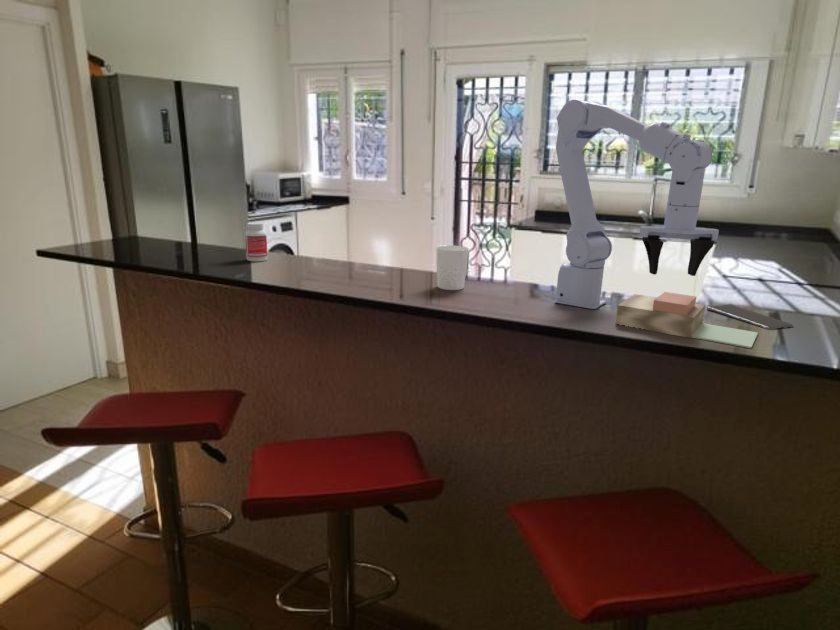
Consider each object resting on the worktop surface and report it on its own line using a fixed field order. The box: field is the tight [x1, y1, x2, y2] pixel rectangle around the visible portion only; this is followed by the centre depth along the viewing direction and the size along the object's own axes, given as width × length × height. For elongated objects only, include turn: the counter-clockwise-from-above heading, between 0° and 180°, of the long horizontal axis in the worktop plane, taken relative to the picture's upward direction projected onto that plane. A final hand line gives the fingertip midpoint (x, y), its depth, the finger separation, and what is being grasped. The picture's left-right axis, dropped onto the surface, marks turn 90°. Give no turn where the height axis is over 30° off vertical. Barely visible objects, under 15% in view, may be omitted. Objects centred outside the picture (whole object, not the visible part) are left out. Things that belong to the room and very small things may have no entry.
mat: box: [691, 322, 759, 349], centre depth 109 cm, size 10×11×1 cm
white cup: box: [435, 245, 469, 291], centre depth 142 cm, size 8×8×10 cm
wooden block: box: [615, 294, 706, 339], centre depth 115 cm, size 14×12×4 cm
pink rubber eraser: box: [653, 291, 697, 316], centre depth 112 cm, size 6×9×2 cm, turn 145°
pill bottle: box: [244, 222, 268, 263], centre depth 171 cm, size 6×6×11 cm
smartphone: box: [706, 304, 794, 330], centre depth 122 cm, size 7×1×16 cm
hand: (672, 274), depth 114 cm, fingers open, 7 cm apart
